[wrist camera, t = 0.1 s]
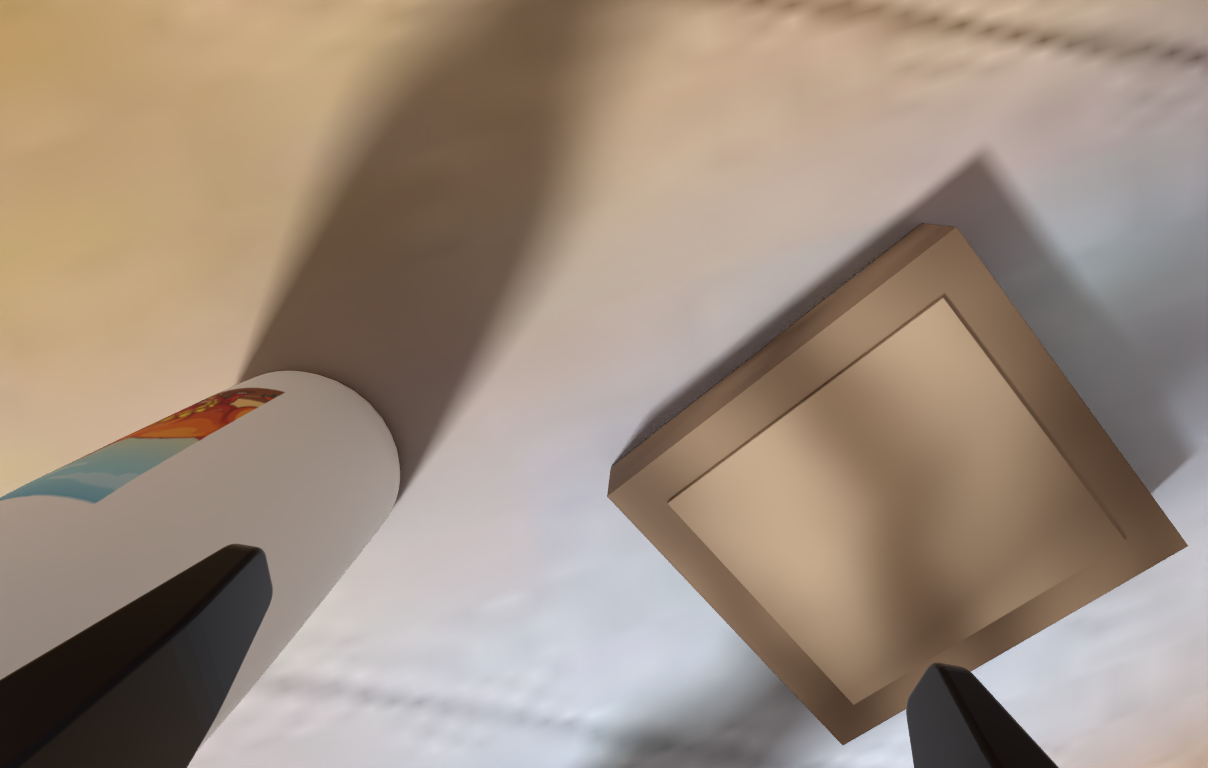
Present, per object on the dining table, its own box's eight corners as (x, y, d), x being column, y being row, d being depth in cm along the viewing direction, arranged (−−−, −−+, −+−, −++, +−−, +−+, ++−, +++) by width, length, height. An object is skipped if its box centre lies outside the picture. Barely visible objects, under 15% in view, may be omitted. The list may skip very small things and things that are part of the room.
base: (825, 696, 27) (843, 748, 25) (610, 466, 25) (607, 498, 22) (1133, 510, 24) (1191, 548, 21) (921, 223, 21) (958, 227, 19)
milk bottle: (401, 371, 24) (-544, 1059, 5) (411, 549, 26) (-212, 1494, 7) (205, 360, 24) (-1377, 959, 5) (231, 536, 27) (-813, 1403, 8)
